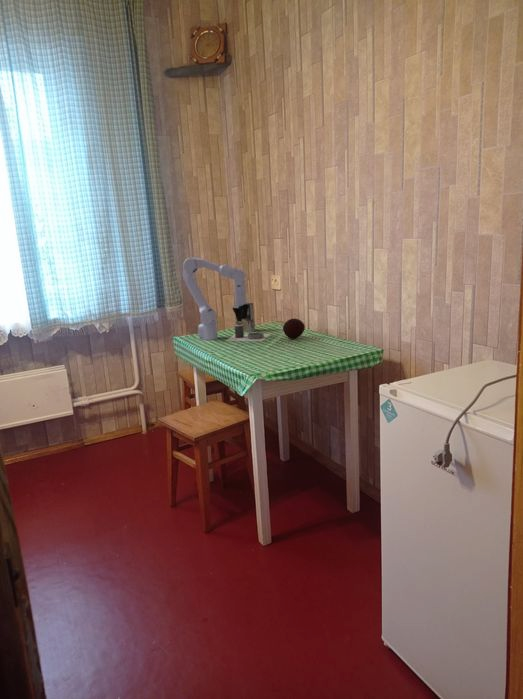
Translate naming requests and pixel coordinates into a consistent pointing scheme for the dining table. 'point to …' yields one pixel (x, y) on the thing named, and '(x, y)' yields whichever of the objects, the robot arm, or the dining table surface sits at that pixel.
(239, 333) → the lens
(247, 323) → the coffee box
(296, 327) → the coconut
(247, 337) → the mount board
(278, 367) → the dining table surface
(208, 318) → the robot arm
